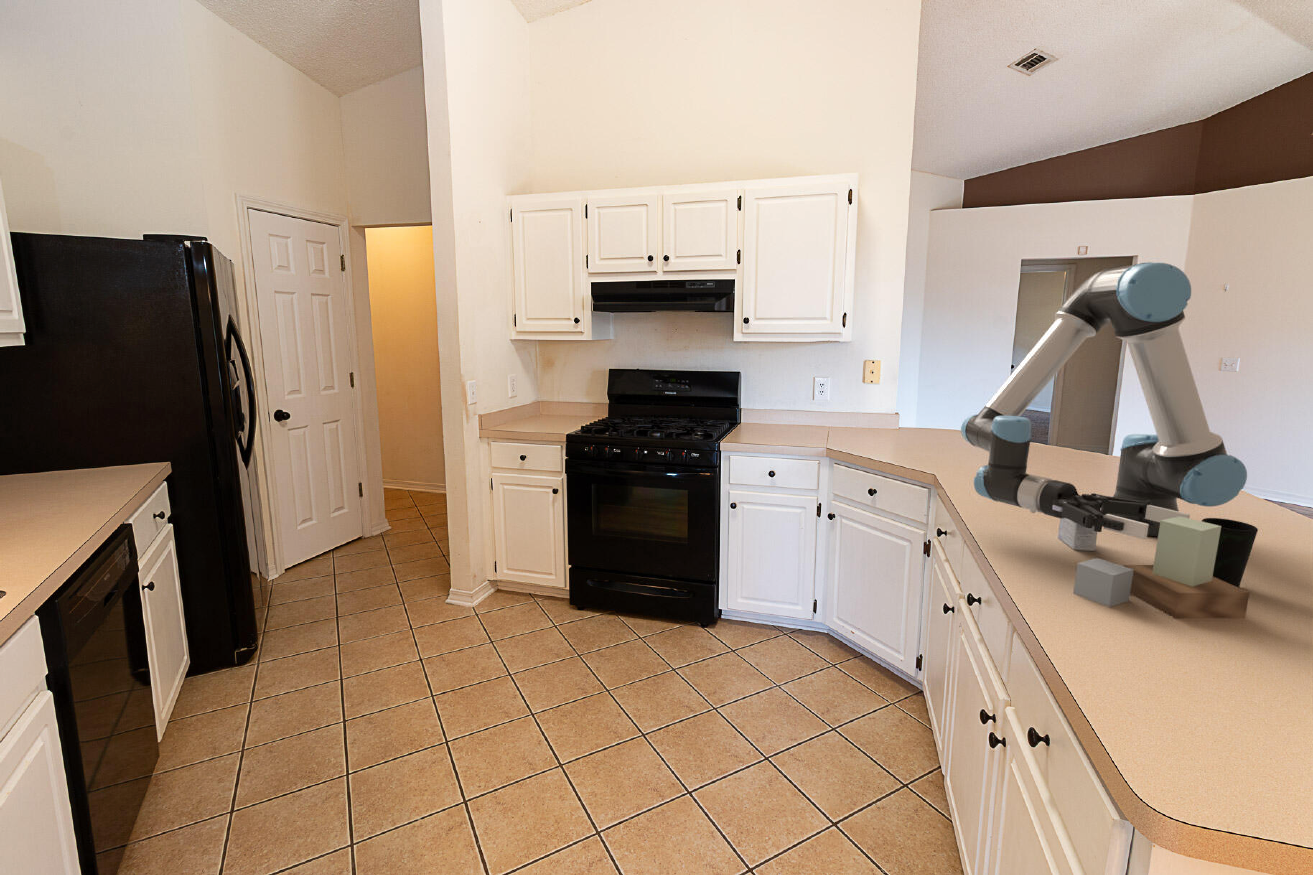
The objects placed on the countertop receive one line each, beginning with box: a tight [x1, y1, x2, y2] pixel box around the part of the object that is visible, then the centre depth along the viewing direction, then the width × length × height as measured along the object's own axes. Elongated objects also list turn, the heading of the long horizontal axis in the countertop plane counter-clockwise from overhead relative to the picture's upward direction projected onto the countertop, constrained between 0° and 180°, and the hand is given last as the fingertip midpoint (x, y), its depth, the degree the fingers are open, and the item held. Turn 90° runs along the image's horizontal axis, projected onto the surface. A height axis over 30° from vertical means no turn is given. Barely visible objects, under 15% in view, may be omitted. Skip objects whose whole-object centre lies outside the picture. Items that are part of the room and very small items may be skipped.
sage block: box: [1152, 516, 1221, 587], centre depth 106 cm, size 6×6×10 cm
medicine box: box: [1057, 518, 1098, 552], centre depth 135 cm, size 8×4×9 cm, turn 168°
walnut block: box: [1122, 564, 1251, 619], centre depth 107 cm, size 12×12×5 cm
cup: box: [1201, 517, 1259, 588], centre depth 114 cm, size 8×8×12 cm
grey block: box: [1073, 557, 1134, 608], centre depth 109 cm, size 6×6×6 cm
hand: (1168, 526), depth 108 cm, fingers open, 13 cm apart
